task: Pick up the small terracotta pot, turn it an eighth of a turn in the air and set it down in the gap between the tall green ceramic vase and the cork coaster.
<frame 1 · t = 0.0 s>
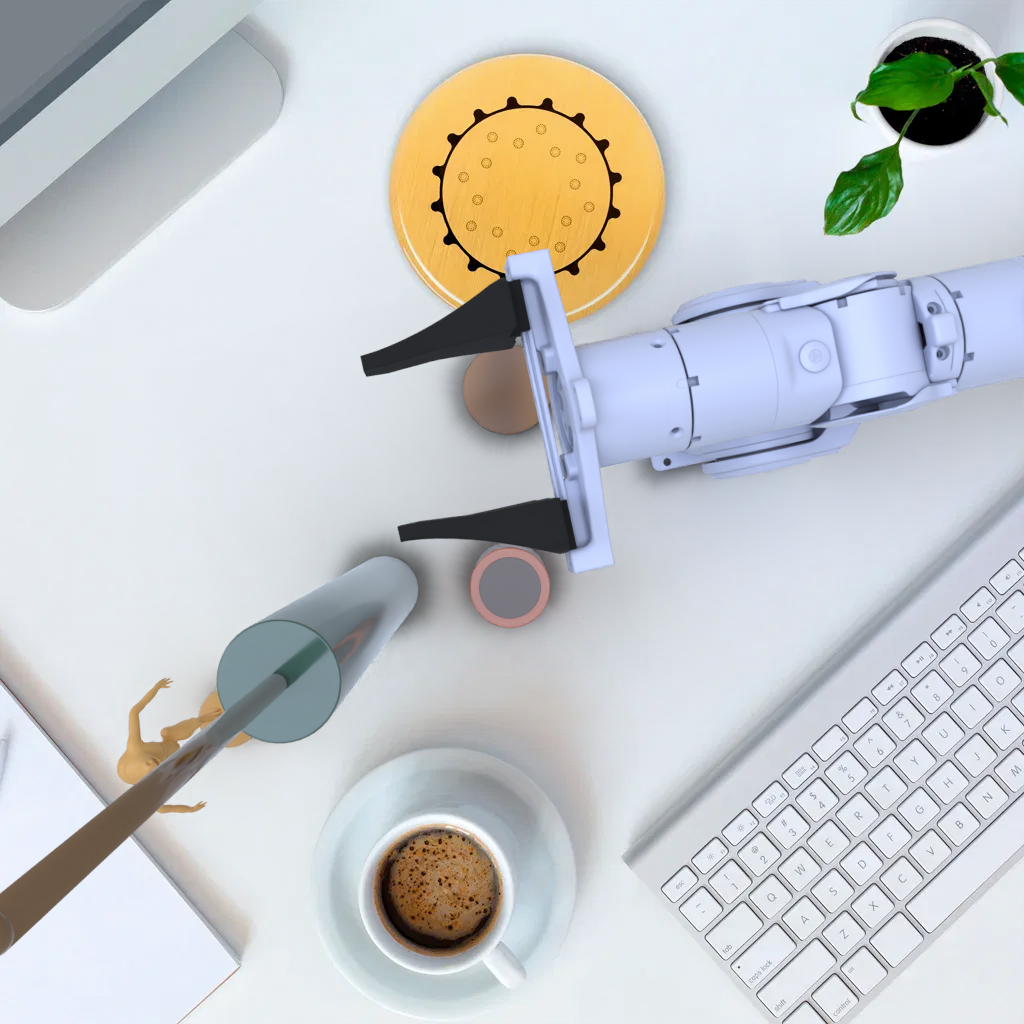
hand: (381, 450, 43), 22 cm above the table, tool horizontal, fingers open, 7 cm apart
figurine: (225, 712, 65), on the table
pot: (509, 578, 65), on the table
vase: (384, 589, 65), on the table
coaster: (507, 390, 65), on the table
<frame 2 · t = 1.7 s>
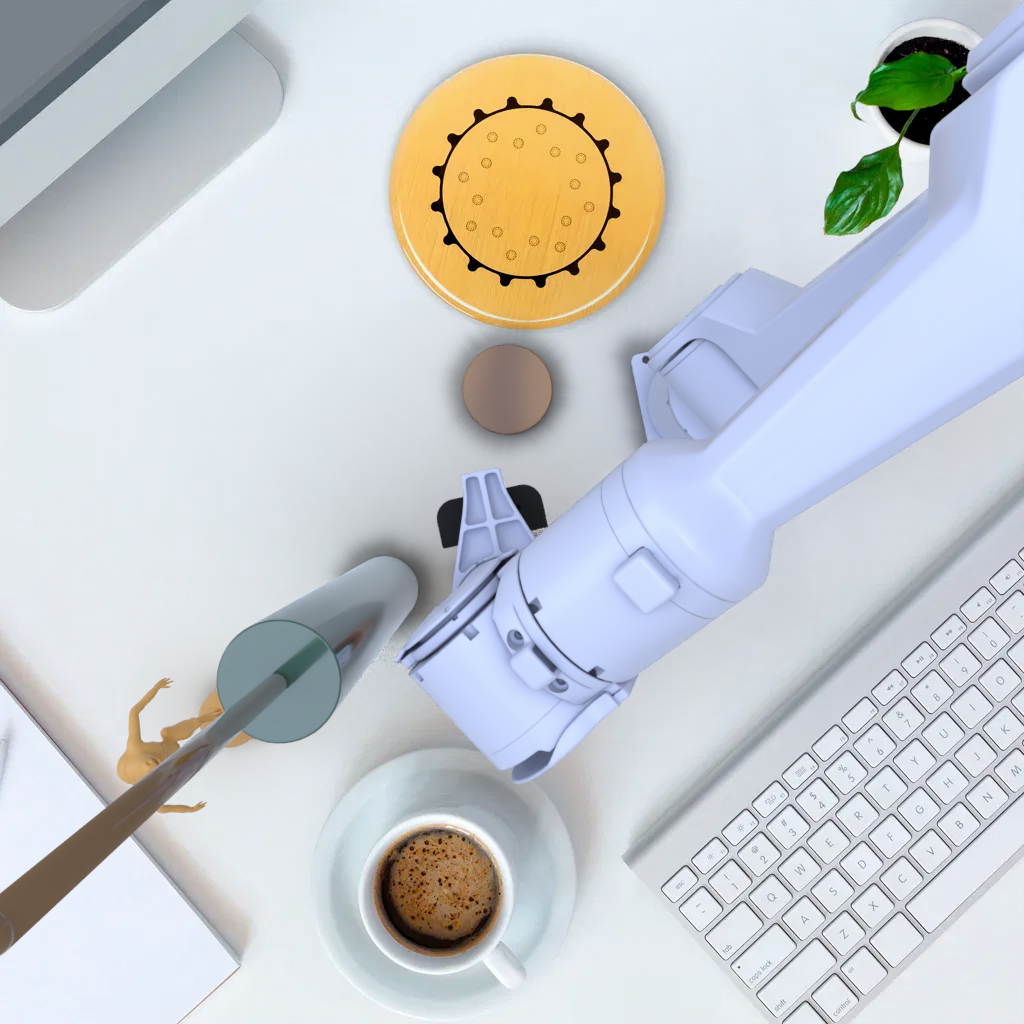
hand: (509, 592, 57), 8 cm above the table, tool pointing down, fingers open, 7 cm apart
nothing on the table moved.
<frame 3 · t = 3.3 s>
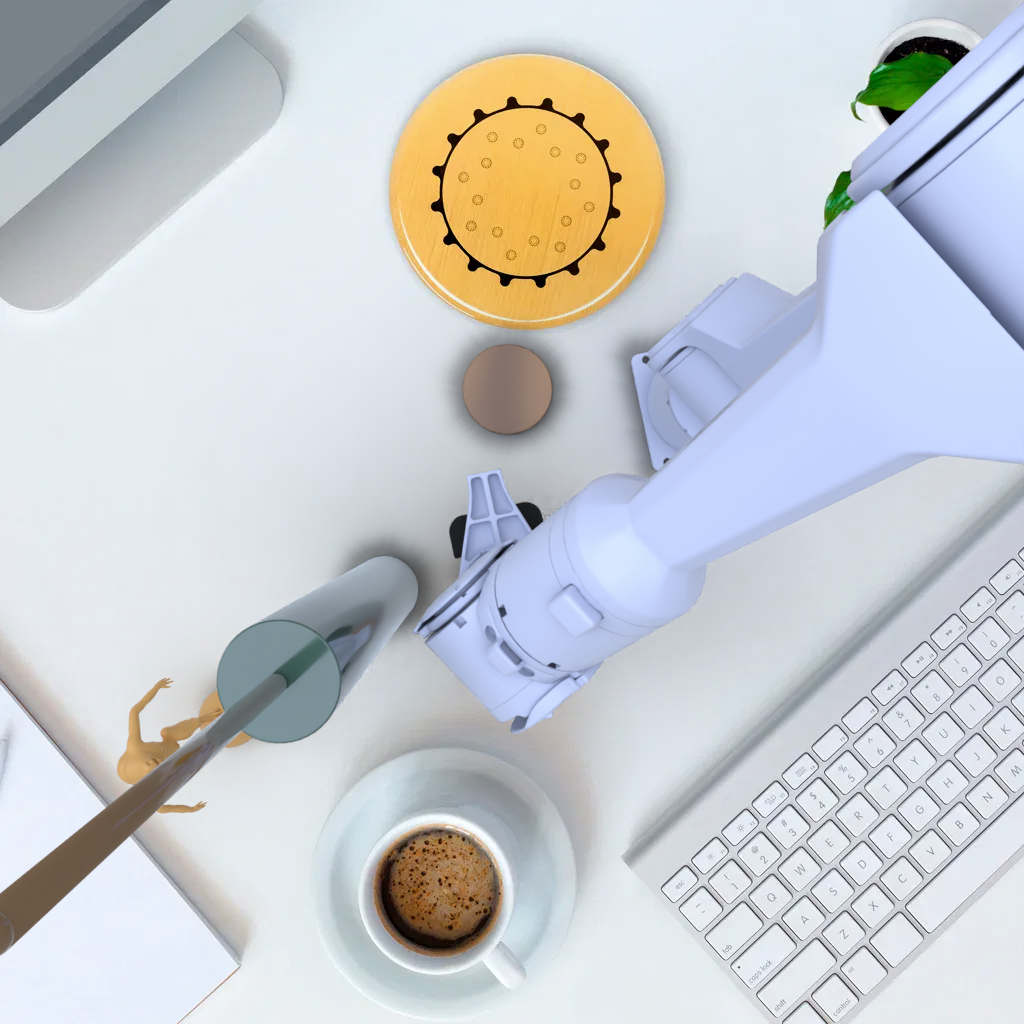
hand: (509, 580, 63), 2 cm above the table, tool pointing down, fingers closed on pot, 5 cm apart
pot: (509, 578, 65), on the table, touching gripper
everything else where it was.
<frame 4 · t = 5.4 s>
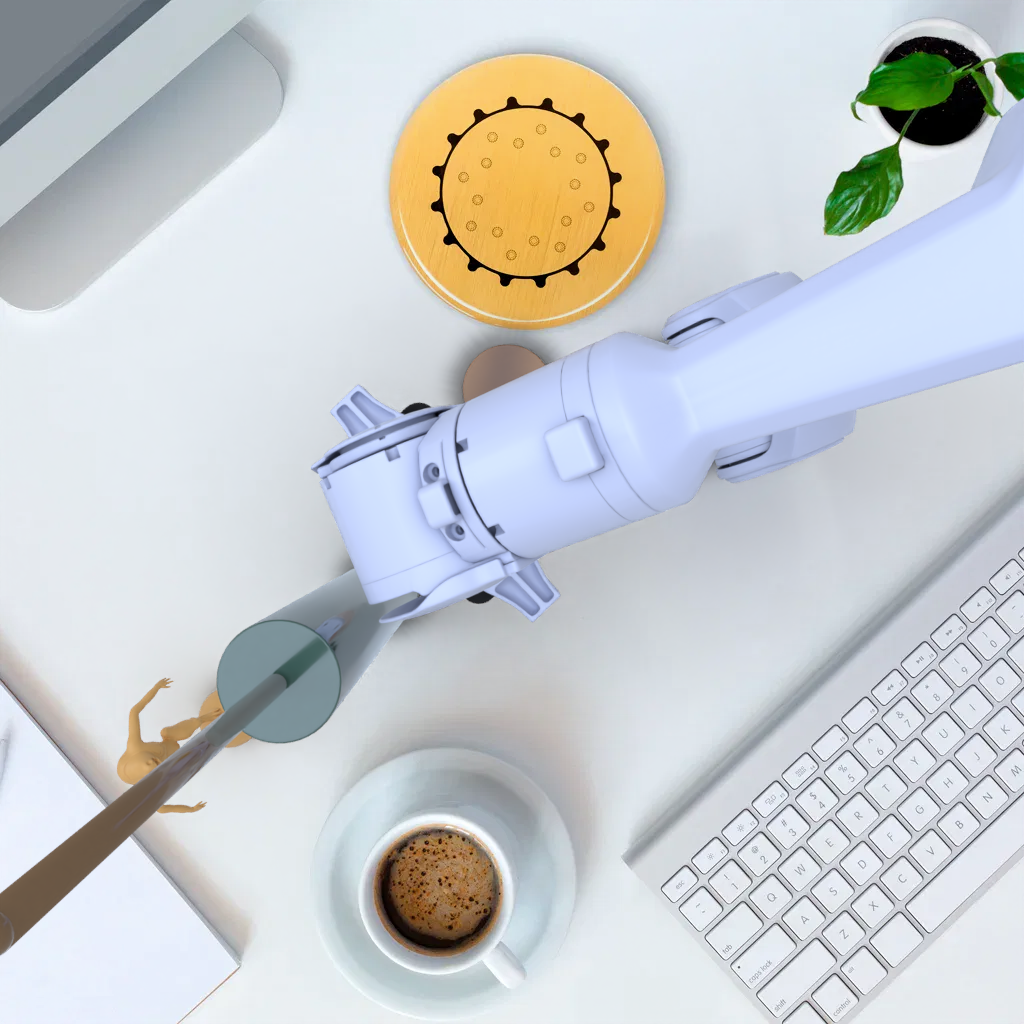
hand: (455, 500, 56), 8 cm above the table, tool pointing down, fingers closed on pot, 5 cm apart
pot: (457, 500, 58), point 7 cm above the table, touching gripper
everything else where it was.
when the fingers open (2 cm above the table, at t = 8.0 s): pot stays where it is, on the table.
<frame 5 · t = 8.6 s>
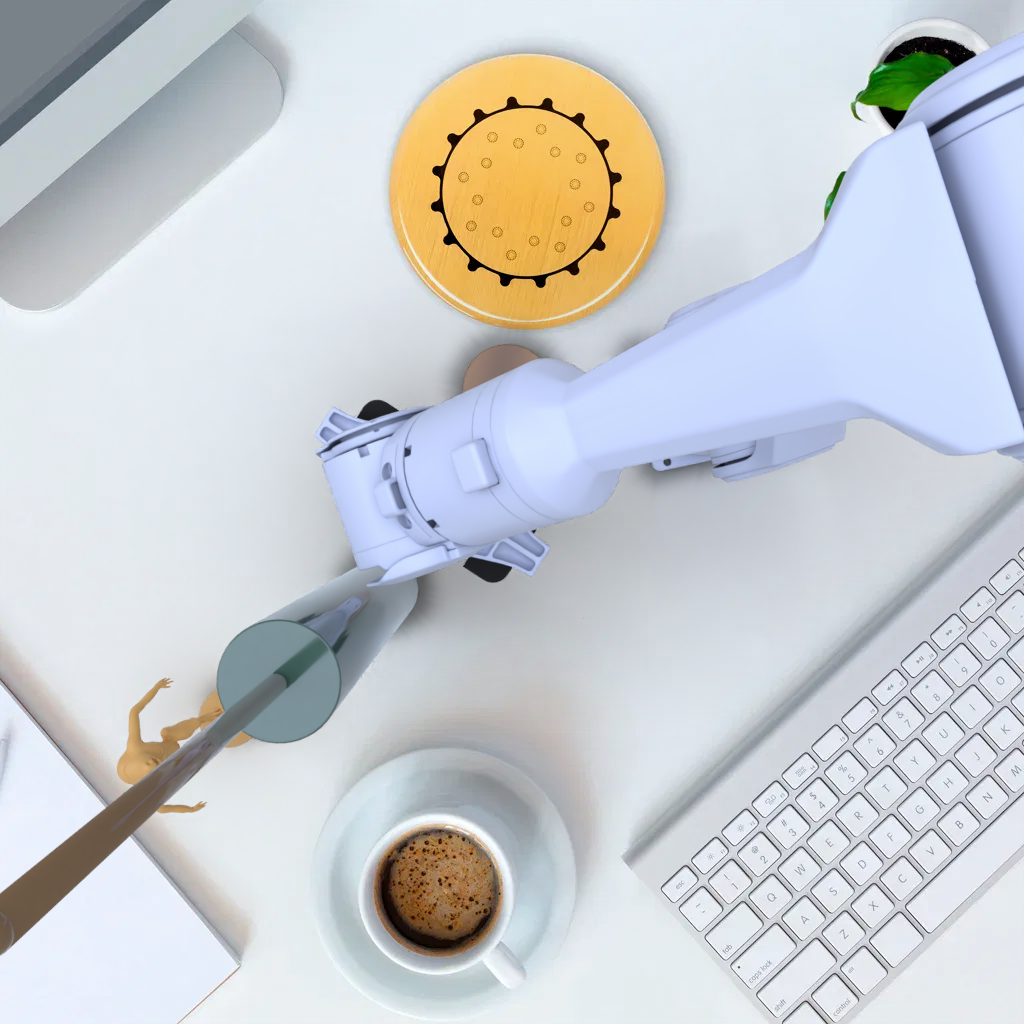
hand: (443, 490, 62), 2 cm above the table, tool pointing down, fingers open, 7 cm apart
pot: (445, 491, 65), on the table
everything else where it was.
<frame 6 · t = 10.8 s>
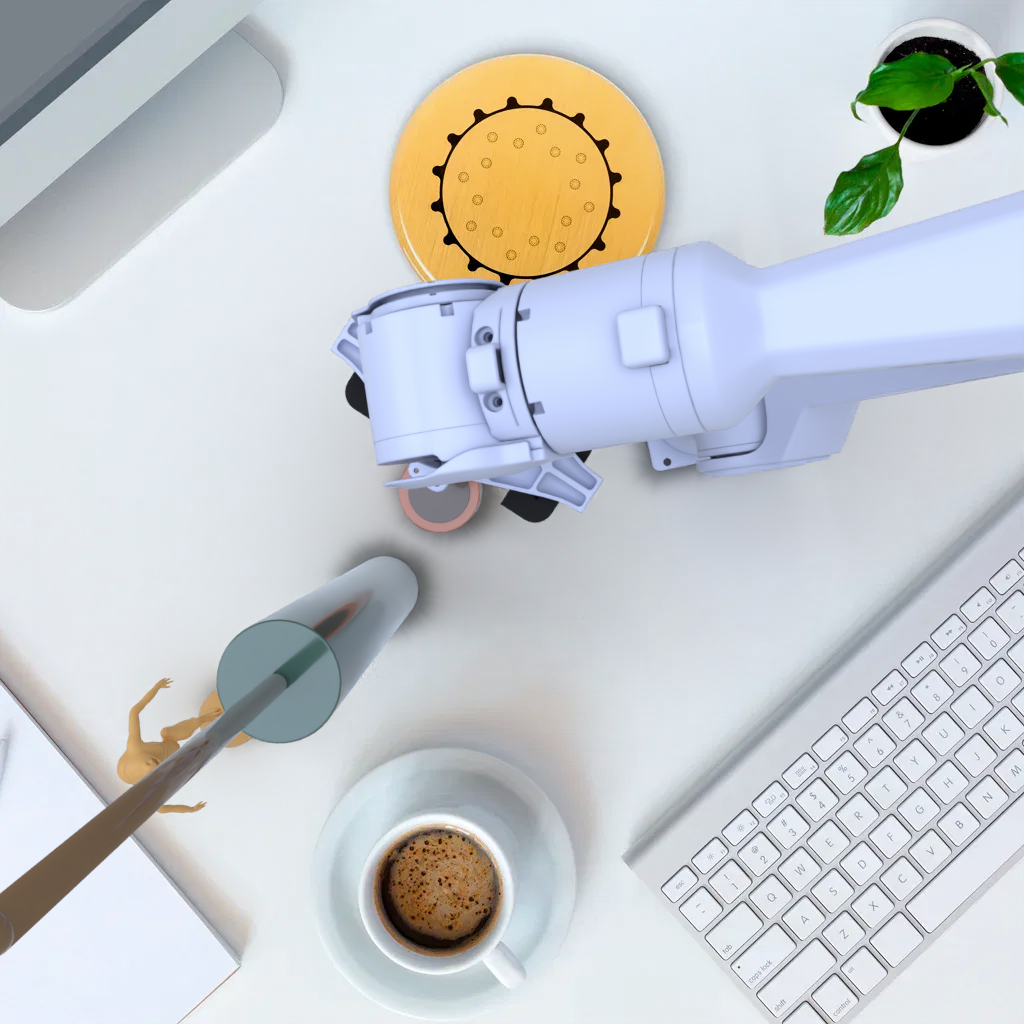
hand: (474, 425, 55), 9 cm above the table, tool pointing down, fingers open, 7 cm apart
nothing on the table moved.
at the end: pot 0.3 cm from the target spot on the table beside the coaster, on the table; pot tilted 0°; pot touching table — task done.
